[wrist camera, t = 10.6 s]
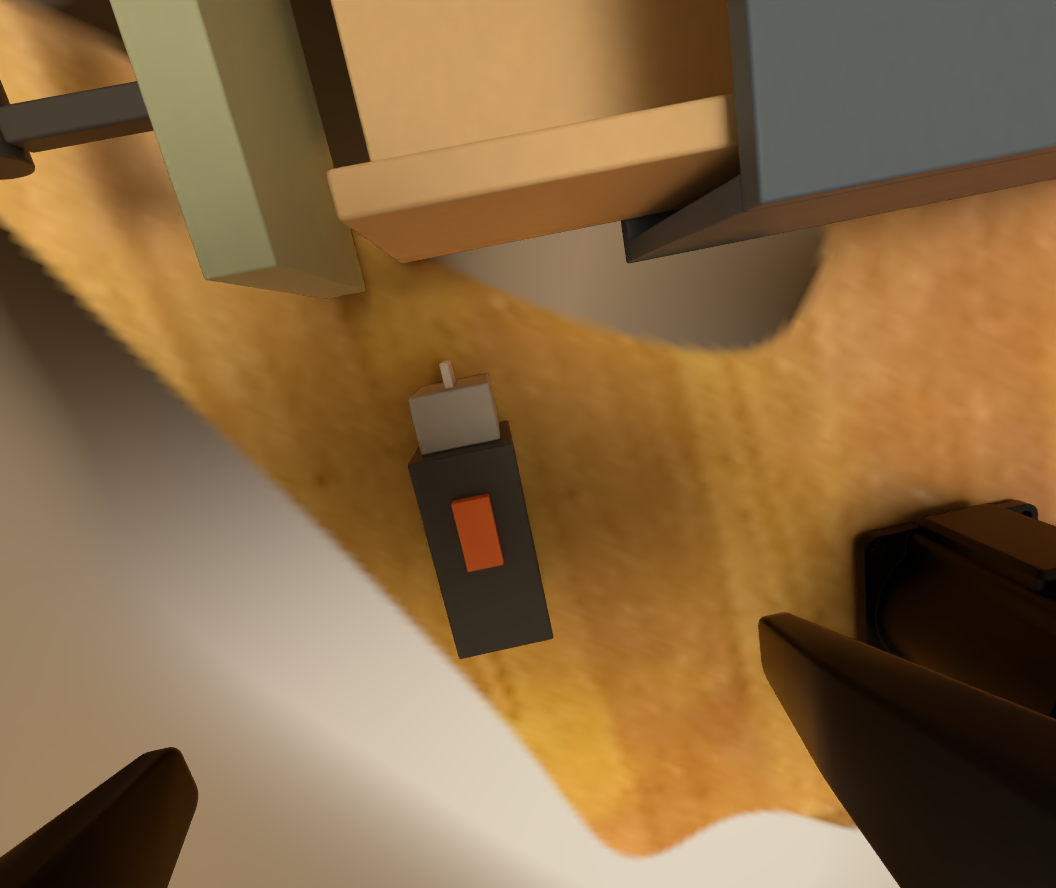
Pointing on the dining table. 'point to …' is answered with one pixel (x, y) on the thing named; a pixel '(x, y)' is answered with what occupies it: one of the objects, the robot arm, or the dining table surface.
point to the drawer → (408, 125)
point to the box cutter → (476, 516)
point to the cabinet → (871, 114)
